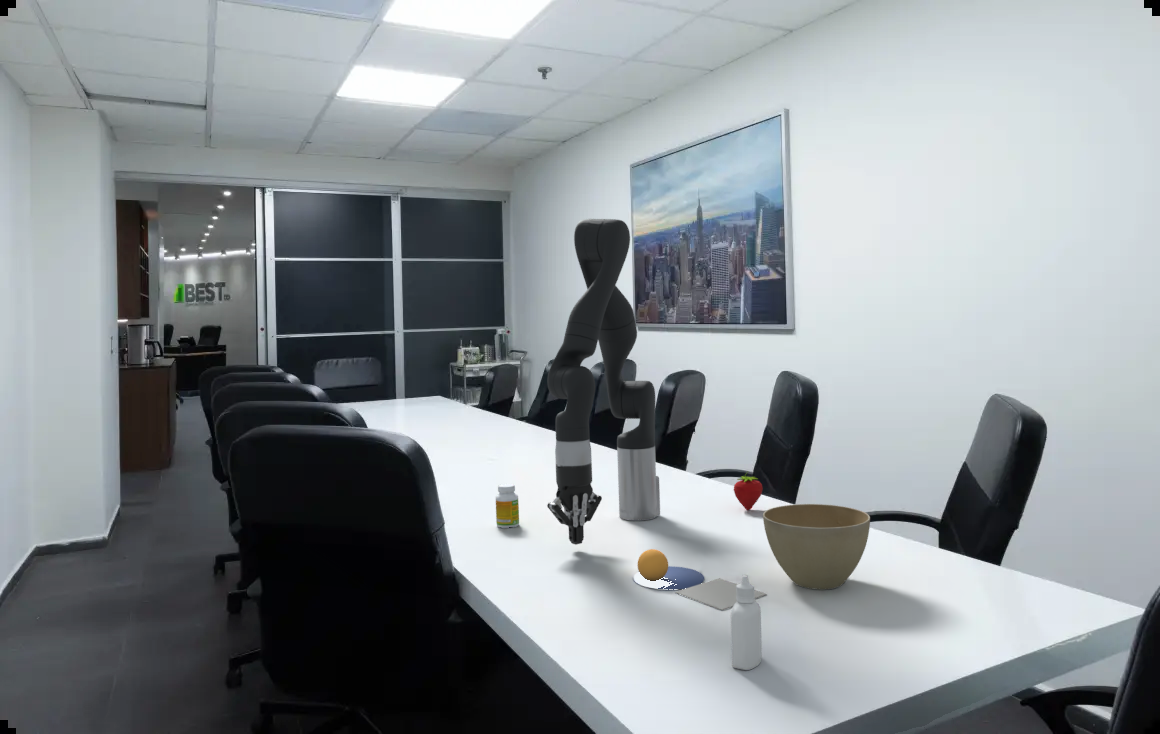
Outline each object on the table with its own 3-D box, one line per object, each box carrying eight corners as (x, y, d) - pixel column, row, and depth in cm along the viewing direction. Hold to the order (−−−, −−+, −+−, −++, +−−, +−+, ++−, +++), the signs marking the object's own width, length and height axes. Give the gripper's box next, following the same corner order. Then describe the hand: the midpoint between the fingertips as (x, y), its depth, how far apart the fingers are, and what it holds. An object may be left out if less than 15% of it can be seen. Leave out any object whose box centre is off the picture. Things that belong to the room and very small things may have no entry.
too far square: (719, 579, 139) (719, 578, 139) (767, 594, 130) (767, 593, 130) (674, 593, 133) (674, 591, 133) (721, 610, 124) (721, 609, 124)
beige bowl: (869, 570, 141) (868, 505, 141) (872, 604, 124) (871, 530, 124) (769, 563, 147) (767, 501, 147) (759, 595, 130) (757, 524, 130)
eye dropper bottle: (720, 661, 105) (718, 575, 105) (753, 652, 108) (751, 568, 107) (740, 673, 101) (738, 584, 101) (773, 664, 104) (772, 576, 103)
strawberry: (768, 510, 189) (767, 470, 188) (742, 514, 186) (741, 473, 186) (754, 505, 194) (753, 466, 194) (729, 509, 192) (728, 469, 191)
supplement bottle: (515, 528, 180) (514, 487, 179) (493, 528, 181) (492, 487, 180) (521, 523, 185) (520, 483, 185) (500, 522, 186) (499, 482, 186)
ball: (675, 551, 139) (674, 582, 139) (655, 543, 143) (654, 573, 144) (650, 556, 136) (649, 587, 136) (631, 547, 140) (630, 577, 141)
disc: (670, 563, 150) (670, 562, 150) (719, 579, 139) (719, 578, 139) (618, 577, 142) (618, 576, 142) (666, 595, 132) (666, 594, 132)
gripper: (588, 455, 166) (590, 534, 167) (537, 463, 159) (540, 545, 159) (609, 459, 160) (612, 541, 161) (557, 467, 153) (560, 553, 153)
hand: (576, 543), depth 160 cm, fingers closed
